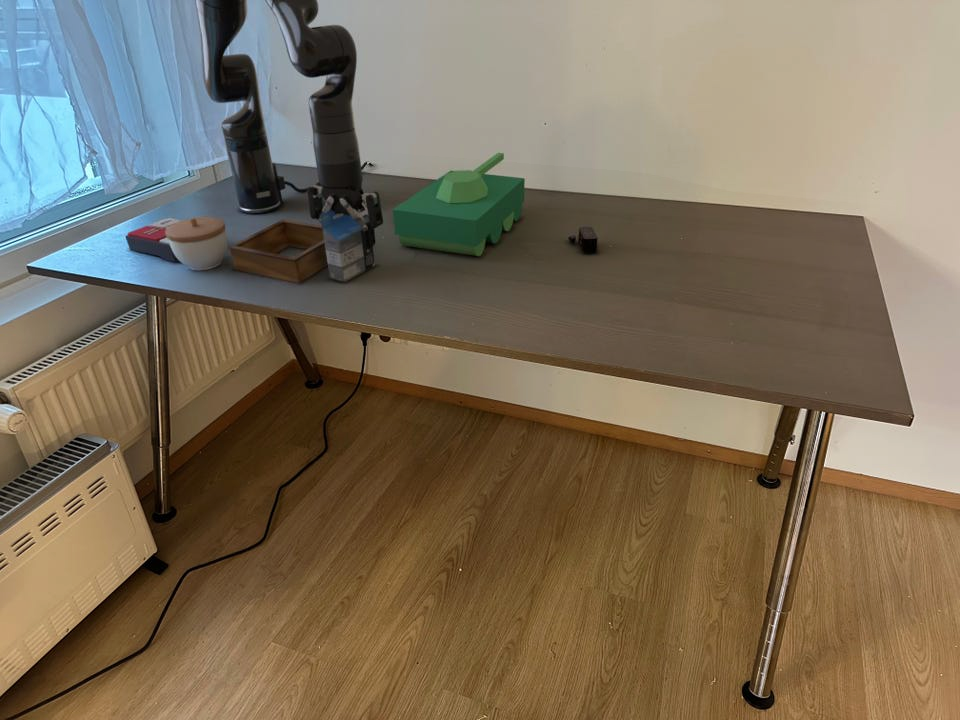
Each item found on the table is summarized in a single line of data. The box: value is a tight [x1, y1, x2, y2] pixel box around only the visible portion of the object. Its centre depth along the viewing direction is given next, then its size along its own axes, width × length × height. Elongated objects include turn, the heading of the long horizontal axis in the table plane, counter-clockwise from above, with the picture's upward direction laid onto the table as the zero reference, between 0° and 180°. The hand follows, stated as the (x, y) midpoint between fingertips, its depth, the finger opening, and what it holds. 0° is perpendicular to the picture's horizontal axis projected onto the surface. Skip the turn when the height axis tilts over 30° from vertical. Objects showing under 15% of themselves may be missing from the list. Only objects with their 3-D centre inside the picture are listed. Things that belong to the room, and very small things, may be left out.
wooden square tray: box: [227, 219, 328, 284], centre depth 129 cm, size 16×16×5 cm
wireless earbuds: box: [567, 226, 599, 255], centre depth 131 cm, size 5×7×3 cm, turn 2°
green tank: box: [392, 152, 526, 257], centre depth 141 cm, size 18×12×35 cm
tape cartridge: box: [320, 210, 376, 283], centre depth 122 cm, size 9×4×12 cm, turn 148°
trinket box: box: [165, 216, 229, 271], centre depth 128 cm, size 11×11×9 cm
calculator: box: [124, 217, 182, 263], centre depth 137 cm, size 11×4×15 cm
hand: (349, 244), depth 122 cm, fingers open, 8 cm apart
